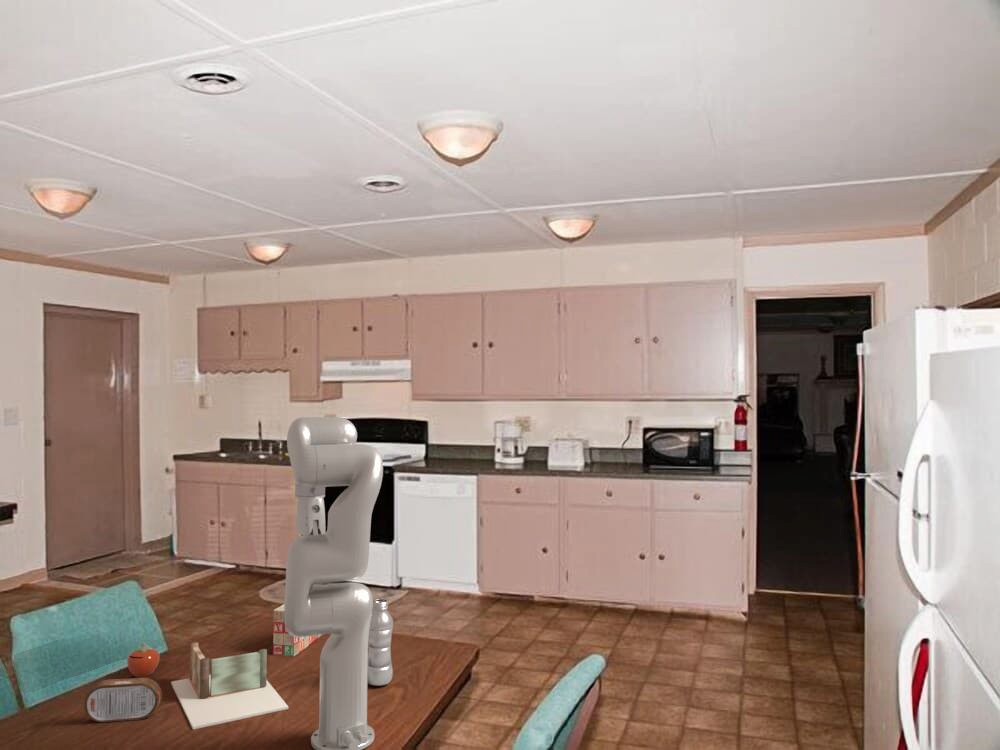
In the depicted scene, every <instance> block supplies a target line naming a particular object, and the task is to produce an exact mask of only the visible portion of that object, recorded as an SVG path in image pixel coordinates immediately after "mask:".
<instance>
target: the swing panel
mask: <svg viewBox="0 0 1000 750" xmlns="http://www.w3.org/2000/svg"><path fill="white" fill-rule="evenodd" d="M267 655H268V649H266V648H262V649H259V650H258V651H255V652H247V653H242V654H238V655H237V654H236V655H230V656H225V657H217V658H211V659H210V674H211V686H210V695H211V696H215V695H220V694H226V693H231V692H237V691H242V690H248V689H253V688H258V687H265V686H266V680H267V669H268V668H267V666H268V665H267V664H268V662H267V659H268V656H267Z"/></svg>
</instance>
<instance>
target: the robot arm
mask: <svg viewBox="0 0 1000 750" xmlns="http://www.w3.org/2000/svg"><path fill="white" fill-rule="evenodd" d="M286 436H287V437H286V447H287V452H288V457H289V461H290V465H291V470H292V474H293V478H294V481H295V482H294V498H295V499H297V501H296V517H295V519H296V520H295V521H296V531H297V533H298V534H299V535H300V536H299V537H297V538H296V537H295V539H294V540H292V542H291V544H290V546H289V548H288V552H287V557H286V566H285V567H286V569H285V589H284V603H283V604H284V622H285V627H286V630H287V632H288V633H289V634H290V635H292V636H295V637H305V636H314V635H321V636H322V634H323V635H329V637H328V638H327V639H326V641H325V643H324V644H323V646H322V649H321V652H320V656H319V704H318V705H319V706H318V707H319V708H318V709H319V714H318V715H319V716H318V718H319V720H318V721H319V722H318V728H317V729H316V730H315V731H314V732H313V733H312V735H311V737H310V743H311V747H312V748H313V749H314V750H364V749H366V748H368V747H369V746H370V745H371V744H373V742H374V740H375V731H374V728H373V727H371V726H370V725H368V682H367V668H368V654H369V641H368V637H369V628H370V622H371V616H372V612H373V601H374V597H373V594H372V591H371V589H370V588H369V587H368V586H366V585H365V584H363V583H359V582H352V580H353V581H354V580H357V579H360V578H361V577H363V576H364V575H365V574H366V571H367V569H368V564H369V556H370V542H371V527H372V525H371V524H372V514H373V510H374V507H375V504H376V501H377V498H378V496H379V493H380V491H381V490H380V489H381V487H382V482H383V477H384V464H383V463H384V462H383V456H382V454H381V452H380V451H379V450H378V449H377V448H376V447H374V446H372V445H367V444H360V443H357V439H358V432H357V428H356V427H355V425H354V424H353V423H352V422H351V421H350V420H348V419H346V418H343V417H340V416H339V417H337V416H325V417H324V416H319V417H318V416H315V417H313V416H311V417H310V416H308V417H307V416H306V417H305V416H303V417H302V416H301V417H298V418H296V419H294V421H292V422H291V423H290V426H289V428H288V430H287V435H286ZM346 486H347V488H346V489H344V491H342V492H341V493H340V494H339V496H337V498H336V499H335V500H334V502H333V503H332V504H331V506H330V508H329V510H328V512H327V527H326V507H325V500H324V498H325V497H326V488H327V487H346ZM326 528H327V530H326ZM348 581H349V582H348ZM350 581H351V582H350ZM326 583H327V584H326ZM328 583H329V584H328Z"/></svg>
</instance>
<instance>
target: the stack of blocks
mask: <svg viewBox="0 0 1000 750" xmlns="http://www.w3.org/2000/svg"><path fill="white" fill-rule="evenodd" d="M272 634H273V635H272V636H273V639H272V643H273V644H272V655H273V656H284V657H285V656H286V657H295V656H296V655H298V654H299V653H300V651H301V652H302V651H303V650H304V649H306V648H307V647H308V646H310V645H309V644H312V643H313V642H315V641H316V640H317V639H319V638H320V637H321V636H322V635H324V634H322V635H314V636H305V637H295V636H292V635H290V634H289V633H288V632H287V630H286V627H285V622H284V603H283V604H282V605H280V606H279V607H277V608H274V610H273V622H272Z"/></svg>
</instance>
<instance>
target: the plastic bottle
mask: <svg viewBox="0 0 1000 750" xmlns="http://www.w3.org/2000/svg"><path fill="white" fill-rule="evenodd" d="M388 604H389V603H388V599H384V598H378V599H373V610H372V616H371V622H370V628H369V637H368V668H367V684H368V685H370V686H374V687H381V686H385V685H388V684H389V683H391V681H392V679H393V674H394V671H393V664H392V653H391V648H392V647H391V646H392V636H393V630H394V620H393V617H392V615H391V613H390V612H389V611H388V609H389V605H388Z"/></svg>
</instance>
